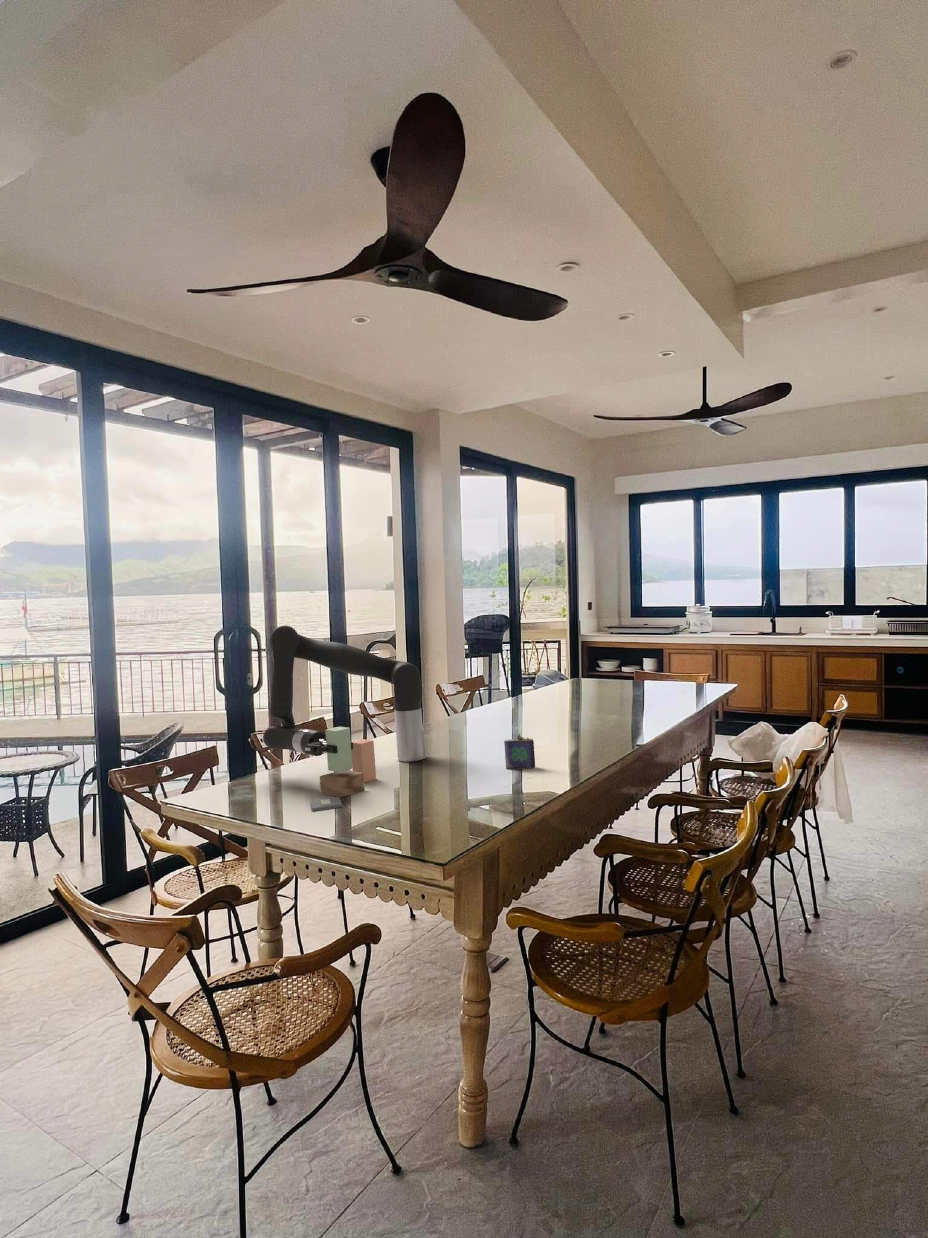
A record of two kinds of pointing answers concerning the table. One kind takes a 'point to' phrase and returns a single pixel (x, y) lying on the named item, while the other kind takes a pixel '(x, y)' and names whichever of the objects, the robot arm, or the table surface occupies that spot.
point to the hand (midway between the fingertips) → (344, 748)
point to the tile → (325, 804)
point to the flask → (519, 753)
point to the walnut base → (342, 783)
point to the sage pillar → (339, 749)
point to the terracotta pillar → (364, 759)
